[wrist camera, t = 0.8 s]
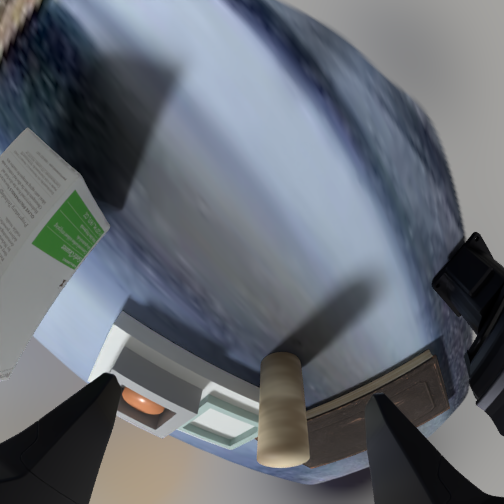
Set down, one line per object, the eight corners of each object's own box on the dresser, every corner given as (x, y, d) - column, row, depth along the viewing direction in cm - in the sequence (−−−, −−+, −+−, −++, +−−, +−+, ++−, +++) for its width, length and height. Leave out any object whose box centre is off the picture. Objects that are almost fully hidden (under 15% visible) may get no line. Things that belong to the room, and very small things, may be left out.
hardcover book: (253, 423, 31) (253, 438, 29) (428, 342, 24) (436, 356, 22) (312, 458, 36) (313, 469, 34) (445, 398, 29) (450, 409, 27)
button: (173, 396, 24) (171, 404, 23) (156, 411, 25) (154, 418, 24) (132, 374, 23) (129, 382, 22) (120, 392, 24) (117, 398, 23)
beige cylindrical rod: (309, 362, 25) (320, 455, 16) (282, 382, 26) (285, 470, 17) (278, 345, 24) (280, 445, 15) (252, 368, 25) (246, 460, 16)
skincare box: (113, 225, 19) (14, 381, 14) (61, 180, 19) (-30, 325, 13) (80, 171, 11) (-48, 401, 6) (21, 119, 11) (-93, 320, 6)
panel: (291, 401, 28) (294, 439, 23) (231, 437, 32) (228, 468, 27) (122, 310, 23) (98, 346, 19) (94, 369, 28) (77, 398, 23)
